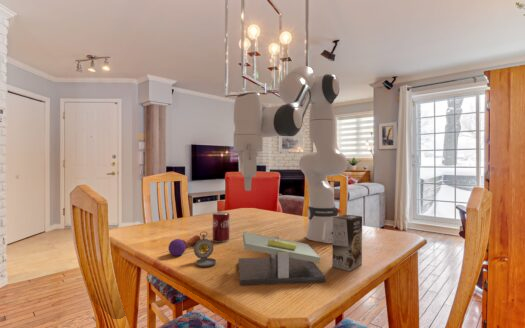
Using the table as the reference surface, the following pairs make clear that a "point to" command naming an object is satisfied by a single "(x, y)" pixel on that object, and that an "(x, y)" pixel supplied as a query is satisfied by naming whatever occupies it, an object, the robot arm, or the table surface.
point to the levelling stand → (278, 270)
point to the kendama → (181, 245)
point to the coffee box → (347, 242)
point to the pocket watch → (204, 252)
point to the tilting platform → (279, 247)
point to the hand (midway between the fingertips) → (247, 190)
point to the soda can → (221, 226)
